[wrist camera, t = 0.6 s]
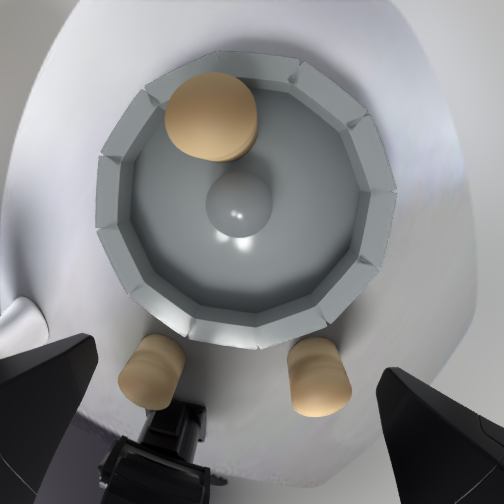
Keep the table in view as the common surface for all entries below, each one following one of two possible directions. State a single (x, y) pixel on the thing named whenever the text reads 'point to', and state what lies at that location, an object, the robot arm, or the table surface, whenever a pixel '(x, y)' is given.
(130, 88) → the table surface
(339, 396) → the bead
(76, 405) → the robot arm
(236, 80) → the tan short rounded cylinder
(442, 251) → the table surface
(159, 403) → the bead
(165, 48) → the table surface
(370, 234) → the tray
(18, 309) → the beer glass
